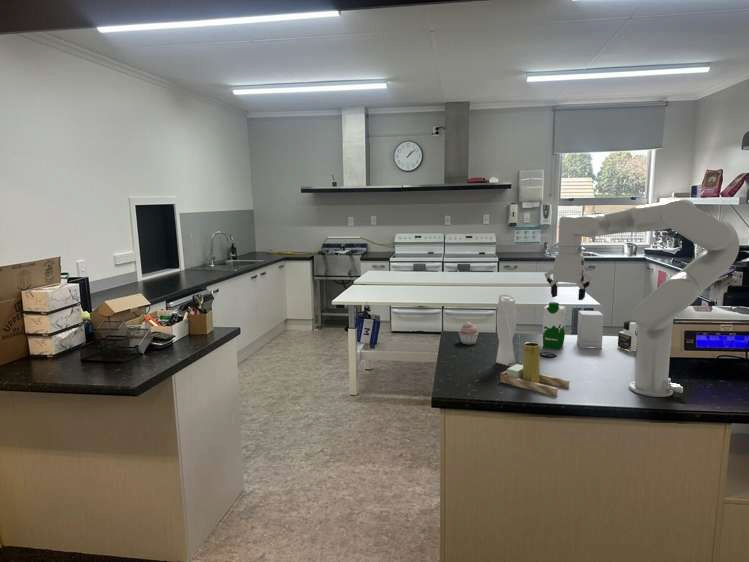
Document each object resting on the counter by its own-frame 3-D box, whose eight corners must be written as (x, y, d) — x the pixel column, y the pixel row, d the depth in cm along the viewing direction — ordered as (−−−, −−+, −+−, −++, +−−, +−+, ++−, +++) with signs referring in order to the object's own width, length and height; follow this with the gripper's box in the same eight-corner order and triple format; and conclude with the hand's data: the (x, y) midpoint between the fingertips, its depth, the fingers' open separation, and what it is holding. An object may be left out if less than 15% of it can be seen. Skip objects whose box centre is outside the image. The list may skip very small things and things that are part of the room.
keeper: (527, 378, 174) (527, 366, 173) (517, 383, 169) (517, 371, 168) (516, 375, 177) (517, 363, 176) (506, 381, 172) (507, 368, 171)
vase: (541, 387, 166) (542, 347, 164) (522, 386, 167) (523, 346, 165) (538, 381, 172) (539, 342, 170) (520, 380, 173) (521, 341, 171)
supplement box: (602, 349, 209) (604, 315, 207) (580, 348, 211) (581, 314, 209) (598, 343, 218) (599, 310, 216) (576, 342, 220) (578, 310, 218)
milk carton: (540, 348, 212) (542, 303, 209) (545, 343, 220) (546, 299, 217) (561, 350, 207) (563, 304, 205) (565, 345, 215) (567, 301, 212)
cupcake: (478, 340, 227) (478, 319, 225) (479, 345, 218) (479, 323, 216) (457, 339, 228) (457, 319, 227) (458, 345, 219) (458, 323, 217)
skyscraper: (508, 368, 186) (510, 296, 182) (491, 363, 193) (492, 293, 189) (521, 363, 192) (523, 293, 188) (504, 358, 198) (505, 291, 194)
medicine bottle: (617, 347, 211) (618, 320, 209) (630, 346, 213) (631, 319, 211) (630, 352, 204) (631, 324, 202) (643, 350, 206) (645, 322, 204)
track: (569, 387, 165) (569, 378, 165) (556, 396, 158) (556, 386, 157) (514, 374, 179) (515, 366, 179) (500, 382, 172) (500, 373, 171)
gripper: (598, 251, 169) (596, 299, 172) (550, 249, 181) (548, 294, 184) (590, 252, 164) (588, 302, 166) (541, 250, 176) (539, 297, 178)
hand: (567, 298), depth 175 cm, fingers open, 9 cm apart
